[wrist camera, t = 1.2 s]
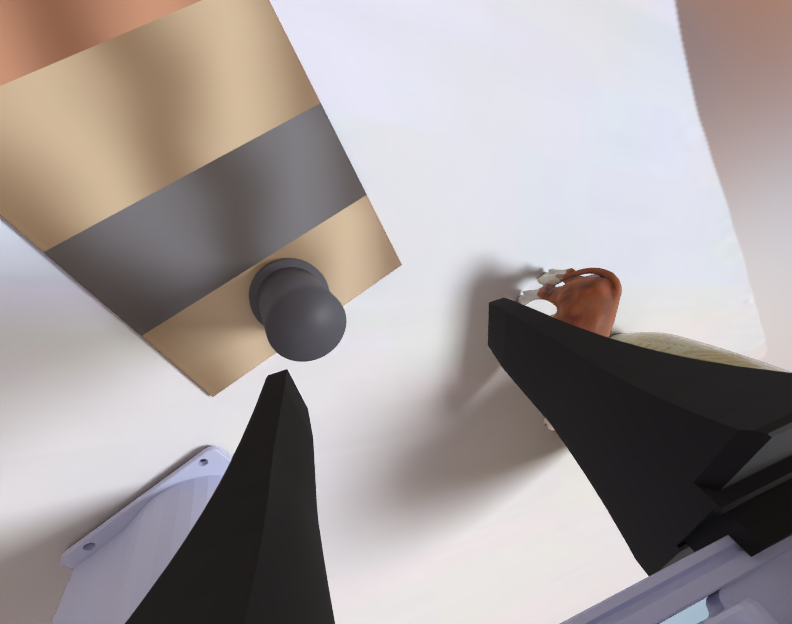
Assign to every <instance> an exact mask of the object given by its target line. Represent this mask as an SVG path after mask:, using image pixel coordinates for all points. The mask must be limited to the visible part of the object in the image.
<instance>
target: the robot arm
mask: <svg viewBox="0 0 792 624" xmlns="http://www.w3.org/2000/svg"><path fill="white" fill-rule="evenodd" d="M488 346H489V347H490V349H491V350H492V352H493V354H494V355H495V357H496V358H497V360H498V361H499V363H500V364H501V366H502V367H503V369H504V370H505V371H506V372H507V373H508V375H509V376H510V377H511V378H512V379H513V380H514V382H515V383H516V384H517V385H518V386H519V387H520V389H521V390H522V391H523V392H524V393H525V394H526V396H527V397H528V398H529V399H530V400H531V401H532V403H533V404H534V405H535V406H536V407H537V408H538V409H539V411H540V412H541V413H542V414H543V415H544V417H545V418H546V419H547V420H548V422H549V423H550V424H551V425H552V427H553V428H554V430H555V431H556V432H557V434H558V435H559V437H560V438H561V440H562V441H563V442H564V444H565V445H566V447H567V448H568V449H569V451H570V452H571V454H572V455H573V457H574V458H575V460H576V461H577V463H578V464H579V466H580V467H581V469H582V470H583V472H584V473H585V475H586V476H587V478H588V480H589V481H590V483H591V484H592V486H593V488H594V489H595V491H596V492H597V494H598V496H599V497H600V499H601V500H602V502H603V504H604V505H605V507H606V508H607V510H608V512H609V514H610V515H611V517H612V519H613V520H614V522H615V524H616V525H617V527H618V529H619V531H620V532H621V534H622V536H623V537H624V539H625V541H626V543H627V544H628V546H629V548H630V550H631V552H632V553H633V555H634V557H635V559H636V560H637V562H638V563H639V564H640V565H641V567H642V568H643V569H644V571H645V572H646V573H647V574H648V576H649V577H647V578H645V579H643V580H642V581H640V582H638V583H636V584H634V585H632V586H630V587H628V588H626V589H624V590H623V591H621V592H619V593H617V594H615V595H613V596H611V597H609V598H607V599H606V600H604V601H602V602H600V603H598V604H596V605H594V606H592V607H590V608H589V609H587V610H585V611H583V612H581V613H579V614H577V615H575V616H573V617H571V618H570V619H568V620H566V621H564V622H562V623H560V624H660V623H661V622H663V621H665V620H667V619H668V618H670V617H672V616H674V615H676V614H677V613H679V612H681V611H683V610H685V609H686V608H688V607H690V606H692V605H694V604H695V603H697V602H699V601H701V600H703V599H704V598H706V597H707V599H706V606H707V608H708V611H709V616H708V618H707V619H705V620H704V621H702V622H700V623H698V624H792V373H789V372H781V371H773V370H765V369H756V368H748V367H741V366H734V365H728V364H722V363H716V362H710V361H704V360H699V359H694V358H688V357H683V356H679V355H674V354H670V353H665V352H661V351H656V350H652V349H648V348H644V347H640V346H636V345H633V344H629V343H626V342H622V341H619V340H615V339H612V338H609V337H606V336H602V335H599V334H597V333H594V332H591V331H588V330H585V329H582V328H579V327H577V326H574V325H571V324H569V323H566V322H564V321H561V320H559V319H556V318H554V317H551V316H549V315H546V314H544V313H542V312H539V311H537V310H534V309H532V308H530V307H527V306H525V305H522V304H520V303H517V302H515V301H512V300H510V299H507V298H501V299H498V300H495V301H492V302H489V324H488ZM202 459H207V460H206V461H203V462H201V461H200V460H202ZM88 543H93V544H88ZM59 562H60V564H61V565H63V566H65V567H68V568H71V569H73V571H72V574H71V576H70V579H69V581H68V584H67V586H66V589H65V591H64V594H63V596H62V598H61V601H60V603H59V606H58V608H57V611H56V613H55V616H54V618H53V620H52V623H51V624H335V621H334V615H333V610H332V604H331V599H330V593H329V587H328V581H327V575H326V569H325V563H324V557H323V550H322V543H321V537H320V530H319V524H318V514H317V501H316V483H315V465H314V448H313V435H312V430H311V424H310V418H309V413H308V408H307V406H306V404H305V403H304V401H303V399H302V397H301V395H300V393H299V391H298V389H297V387H296V385H295V383H294V381H293V379H292V378H291V376H290V374H289V372H288V370H287V369H286V370H283V371H280V372H277V373H274V374H271V375H268V377H267V378H266V380H265V383H264V386H263V388H262V391H261V394H260V396H259V399H258V401H257V404H256V406H255V409H254V411H253V414H252V416H251V418H250V421H249V423H248V425H247V427H246V430H245V432H244V434H243V437H242V439H241V441H240V443H239V445H238V447H237V449H236V451H235V453H234V455H233V457H232V458H231V457H230V456H229V455H227V454H226V453H225V452H223V451H222V450H221V449H219V448H218V447H216V446H211V447H207V448H205V449H204V450H203V451H201V452H200V453H199V454H197V455H196V456H194V457H193V458H192V459H190V460H189V461H188V462H186V463H185V464H183V465H182V466H181V467H179V468H178V469H177V470H175V471H174V472H172V473H171V474H170V475H168V476H167V477H166V478H164V479H163V480H162V481H160V482H159V483H157V484H156V485H155V486H153V487H152V488H151V489H149V490H148V491H146V492H145V493H144V494H142V495H141V496H140V497H138V498H137V499H136V500H134V501H133V502H131V503H130V504H129V505H127V506H126V507H125V508H123V509H122V510H120V511H119V512H118V513H116V514H115V515H114V516H112V517H111V518H110V519H108V520H107V521H105V522H104V523H103V524H101V525H100V526H99V527H97V528H96V529H94V530H93V531H92V532H90V533H89V534H88V535H86V536H85V537H84V538H82V539H81V540H79V541H78V542H77V543H75V544H74V545H73V546H71V547H70V548H68V549H67V550H66V551H65V552H64V553H63V554H62V556H61V558H60V561H59Z"/></svg>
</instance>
